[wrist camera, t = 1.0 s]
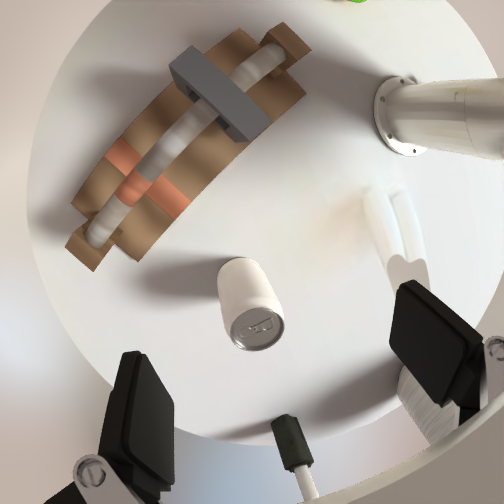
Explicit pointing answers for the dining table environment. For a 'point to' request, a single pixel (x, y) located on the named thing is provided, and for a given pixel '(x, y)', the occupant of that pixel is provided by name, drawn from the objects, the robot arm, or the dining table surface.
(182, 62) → the collar
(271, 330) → the can
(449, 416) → the vase
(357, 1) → the toy pineapple
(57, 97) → the dining table surface
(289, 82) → the rail
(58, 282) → the dining table surface
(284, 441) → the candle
